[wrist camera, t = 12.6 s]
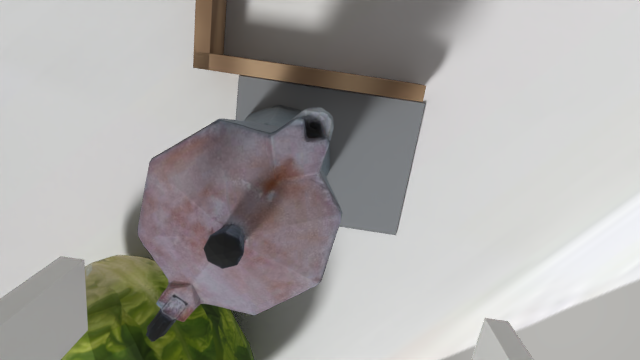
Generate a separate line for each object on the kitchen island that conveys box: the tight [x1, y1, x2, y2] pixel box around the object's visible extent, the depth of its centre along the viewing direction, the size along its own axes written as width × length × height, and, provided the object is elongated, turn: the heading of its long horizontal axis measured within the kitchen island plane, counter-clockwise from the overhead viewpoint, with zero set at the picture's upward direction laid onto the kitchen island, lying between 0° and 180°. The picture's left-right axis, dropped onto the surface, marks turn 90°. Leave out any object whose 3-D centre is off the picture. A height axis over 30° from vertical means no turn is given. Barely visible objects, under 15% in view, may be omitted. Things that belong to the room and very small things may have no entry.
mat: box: [236, 76, 425, 235], centre depth 34 cm, size 16×12×1 cm
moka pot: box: [138, 105, 343, 342], centre depth 24 cm, size 10×15×20 cm, turn 146°
